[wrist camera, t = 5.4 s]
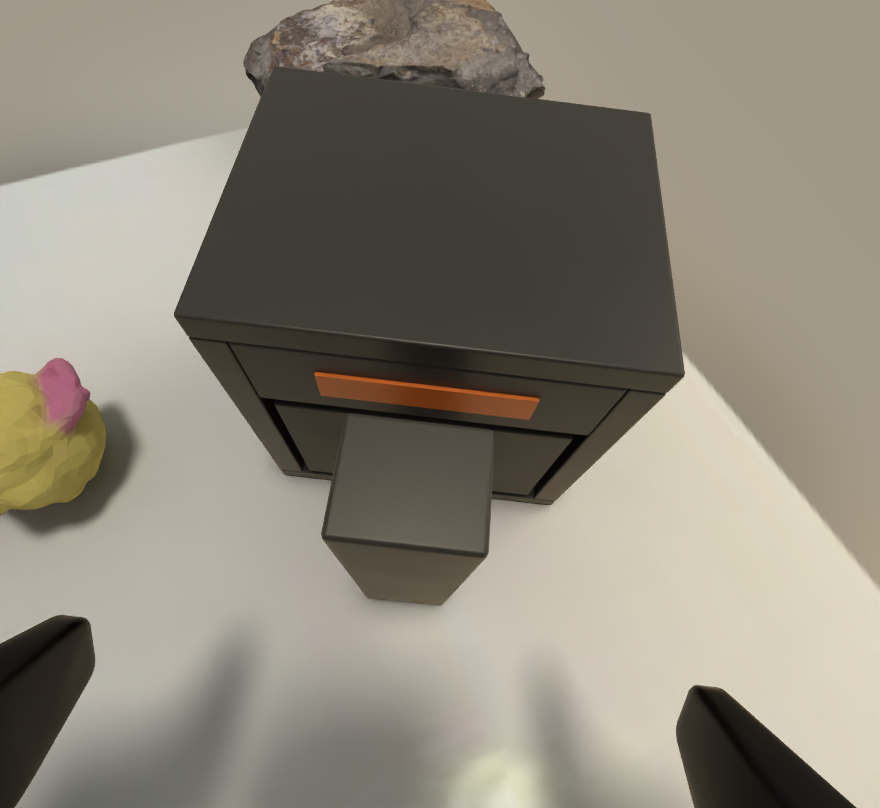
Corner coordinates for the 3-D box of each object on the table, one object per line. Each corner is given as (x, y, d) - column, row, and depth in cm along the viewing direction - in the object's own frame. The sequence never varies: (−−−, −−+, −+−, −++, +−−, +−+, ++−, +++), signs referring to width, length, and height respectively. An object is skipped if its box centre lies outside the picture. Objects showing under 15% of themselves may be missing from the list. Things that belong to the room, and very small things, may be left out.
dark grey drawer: (524, 616, 16) (679, 579, 7) (282, 589, 16) (125, 516, 7) (531, 336, 21) (628, 98, 12) (344, 313, 21) (297, 56, 12)
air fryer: (551, 508, 19) (687, 380, 10) (283, 477, 19) (169, 319, 10) (551, 327, 22) (651, 112, 13) (326, 300, 22) (272, 64, 13)
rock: (459, 32, 32) (467, -80, 27) (575, 132, 28) (609, 20, 23) (242, 100, 28) (206, -18, 23) (340, 229, 23) (321, 118, 19)
